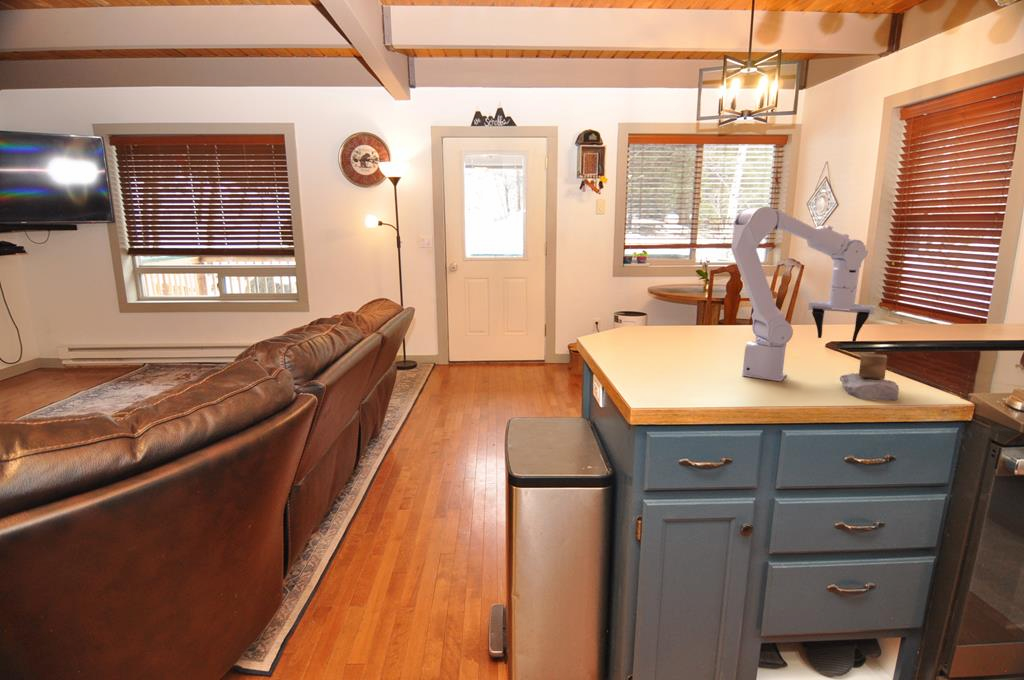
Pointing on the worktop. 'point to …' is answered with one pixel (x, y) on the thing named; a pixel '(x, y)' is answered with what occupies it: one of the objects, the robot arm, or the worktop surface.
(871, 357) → the walnut cube
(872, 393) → the stone block
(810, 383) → the worktop surface
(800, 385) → the worktop surface
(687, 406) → the worktop surface
